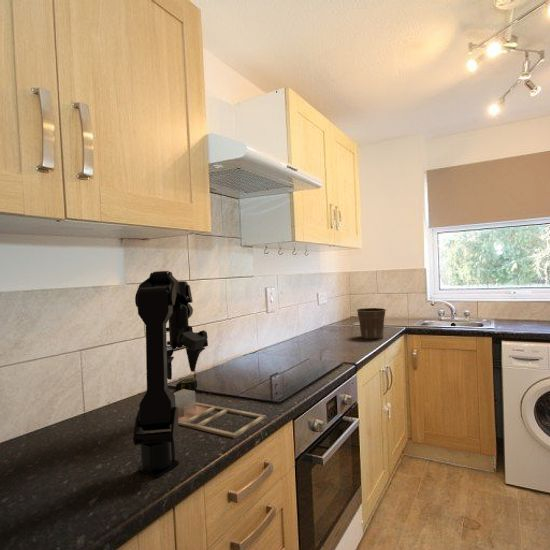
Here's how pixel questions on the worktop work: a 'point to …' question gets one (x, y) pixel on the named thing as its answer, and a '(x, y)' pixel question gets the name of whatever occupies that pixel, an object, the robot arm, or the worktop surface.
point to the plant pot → (371, 322)
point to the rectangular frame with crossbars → (205, 409)
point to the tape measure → (187, 384)
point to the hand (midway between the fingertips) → (181, 375)
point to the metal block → (185, 402)
